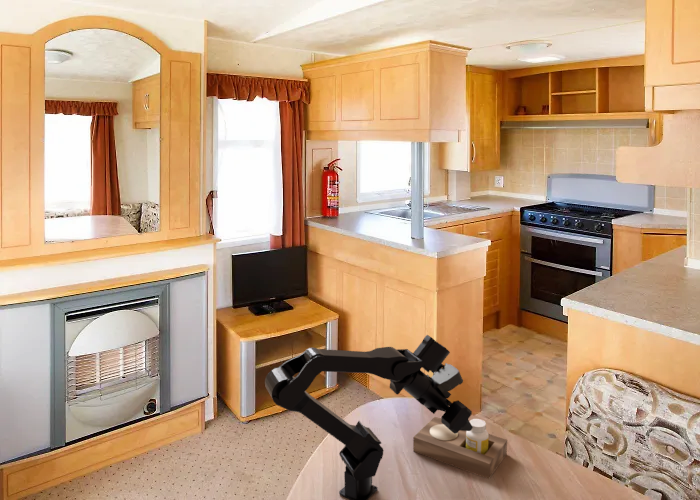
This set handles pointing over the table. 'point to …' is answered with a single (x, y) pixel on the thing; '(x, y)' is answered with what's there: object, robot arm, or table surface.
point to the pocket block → (458, 449)
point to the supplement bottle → (477, 437)
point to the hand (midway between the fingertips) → (459, 419)
